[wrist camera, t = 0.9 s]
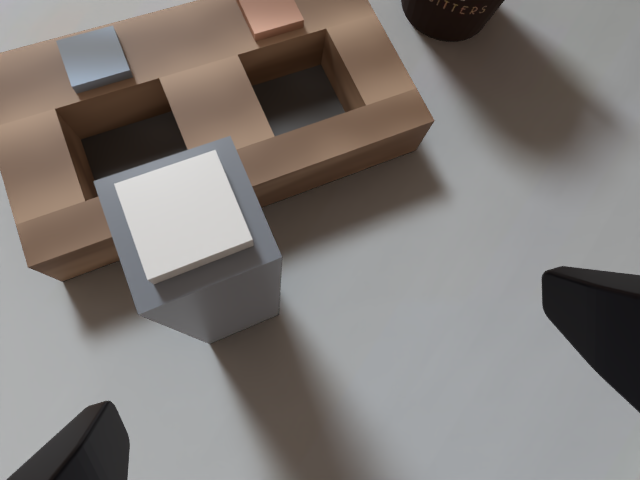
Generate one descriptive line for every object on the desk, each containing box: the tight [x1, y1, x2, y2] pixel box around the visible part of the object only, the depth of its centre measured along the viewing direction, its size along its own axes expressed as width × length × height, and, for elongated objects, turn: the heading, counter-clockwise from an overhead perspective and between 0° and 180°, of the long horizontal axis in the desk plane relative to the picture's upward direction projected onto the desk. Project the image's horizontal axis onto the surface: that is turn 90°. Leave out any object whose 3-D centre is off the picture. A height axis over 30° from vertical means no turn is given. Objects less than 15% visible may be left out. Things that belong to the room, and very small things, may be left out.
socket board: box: [0, 0, 434, 282], centre depth 26 cm, size 12×22×4 cm, turn 114°
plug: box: [93, 136, 282, 344], centre depth 18 cm, size 4×4×14 cm
